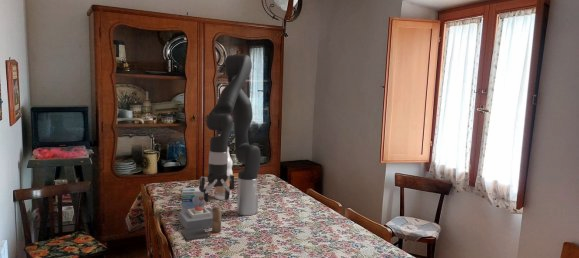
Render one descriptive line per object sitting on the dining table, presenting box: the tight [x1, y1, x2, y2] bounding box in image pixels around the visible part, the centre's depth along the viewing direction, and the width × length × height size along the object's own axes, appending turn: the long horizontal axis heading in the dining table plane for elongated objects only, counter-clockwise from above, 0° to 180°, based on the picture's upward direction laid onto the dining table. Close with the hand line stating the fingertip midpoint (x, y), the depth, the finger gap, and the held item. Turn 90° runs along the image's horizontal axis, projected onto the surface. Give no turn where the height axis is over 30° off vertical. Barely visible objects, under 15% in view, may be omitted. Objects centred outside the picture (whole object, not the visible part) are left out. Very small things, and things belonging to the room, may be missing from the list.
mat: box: [180, 228, 210, 241], centre depth 153 cm, size 9×9×1 cm
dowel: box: [211, 206, 222, 234], centre depth 157 cm, size 4×4×10 cm
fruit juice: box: [214, 145, 234, 201], centre depth 203 cm, size 9×9×28 cm
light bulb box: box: [180, 187, 206, 211], centre depth 180 cm, size 11×7×11 cm, turn 105°
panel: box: [178, 206, 213, 231], centre depth 166 cm, size 14×14×6 cm
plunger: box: [195, 206, 203, 214], centre depth 165 cm, size 4×4×4 cm
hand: (216, 200), depth 156 cm, fingers open, 8 cm apart
